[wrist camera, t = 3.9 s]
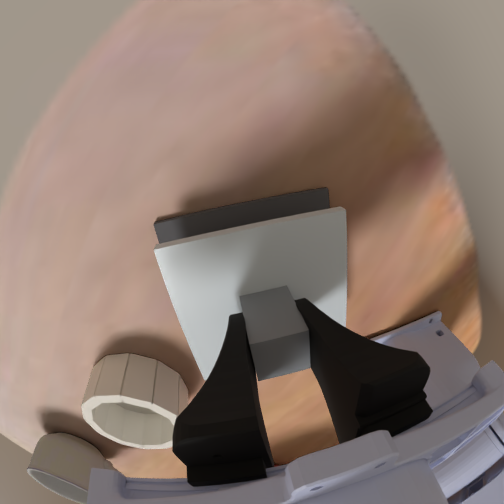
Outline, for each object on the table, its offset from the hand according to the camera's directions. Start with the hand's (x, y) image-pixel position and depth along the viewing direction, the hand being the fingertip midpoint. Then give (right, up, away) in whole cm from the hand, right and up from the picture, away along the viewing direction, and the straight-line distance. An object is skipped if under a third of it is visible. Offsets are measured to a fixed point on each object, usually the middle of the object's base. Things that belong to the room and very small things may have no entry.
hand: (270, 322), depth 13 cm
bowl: (-10, -8, +6) cm, 14 cm away
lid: (0, +1, +2) cm, 2 cm away
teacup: (-22, -21, +11) cm, 32 cm away
